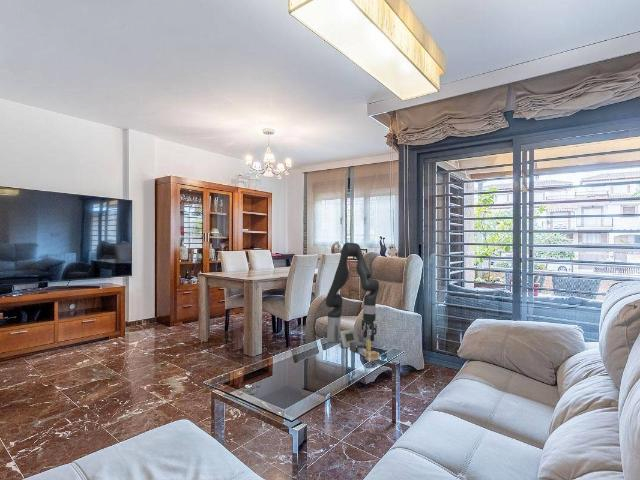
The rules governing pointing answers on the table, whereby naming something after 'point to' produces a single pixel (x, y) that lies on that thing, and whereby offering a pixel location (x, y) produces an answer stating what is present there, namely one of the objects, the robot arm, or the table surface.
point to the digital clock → (348, 337)
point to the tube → (362, 350)
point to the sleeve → (353, 346)
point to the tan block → (371, 355)
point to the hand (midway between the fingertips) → (368, 339)
